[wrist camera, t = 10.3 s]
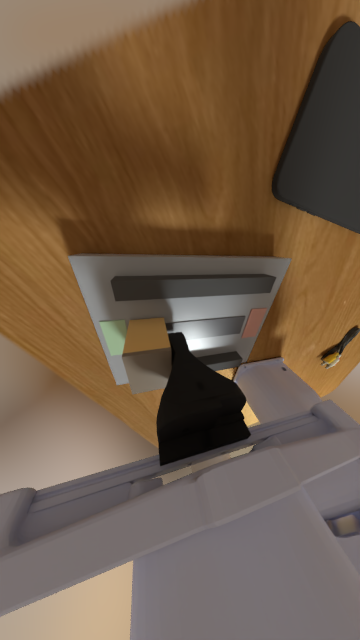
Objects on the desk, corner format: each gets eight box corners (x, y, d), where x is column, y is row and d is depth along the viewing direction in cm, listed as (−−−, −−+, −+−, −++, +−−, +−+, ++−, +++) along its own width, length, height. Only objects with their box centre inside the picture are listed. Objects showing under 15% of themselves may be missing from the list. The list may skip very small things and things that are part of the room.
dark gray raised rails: (263, 273, 12) (276, 277, 11) (233, 358, 18) (239, 366, 17) (114, 276, 9) (110, 281, 8) (137, 374, 15) (136, 385, 14)
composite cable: (352, 325, 25) (370, 332, 23) (361, 329, 27) (379, 337, 25) (312, 360, 29) (324, 369, 27) (322, 362, 31) (334, 370, 29)
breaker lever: (163, 317, 12) (171, 350, 8) (165, 349, 14) (171, 386, 10) (129, 320, 11) (121, 357, 8) (136, 353, 13) (132, 394, 10)
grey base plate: (273, 256, 14) (292, 258, 12) (238, 352, 21) (246, 362, 19) (81, 253, 10) (67, 256, 8) (119, 371, 17) (116, 385, 15)
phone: (370, 236, 15) (271, 193, 10) (359, 237, 15) (263, 197, 11) (447, 135, 11) (345, 3, 7) (429, 141, 12) (327, 25, 7)
